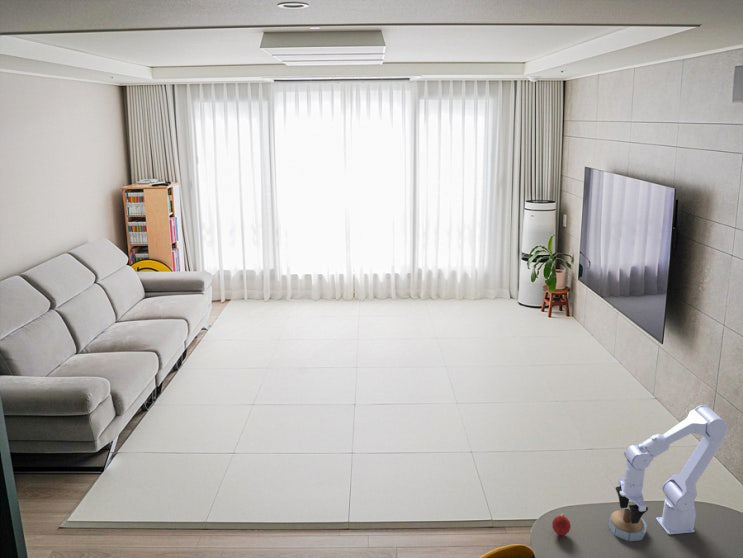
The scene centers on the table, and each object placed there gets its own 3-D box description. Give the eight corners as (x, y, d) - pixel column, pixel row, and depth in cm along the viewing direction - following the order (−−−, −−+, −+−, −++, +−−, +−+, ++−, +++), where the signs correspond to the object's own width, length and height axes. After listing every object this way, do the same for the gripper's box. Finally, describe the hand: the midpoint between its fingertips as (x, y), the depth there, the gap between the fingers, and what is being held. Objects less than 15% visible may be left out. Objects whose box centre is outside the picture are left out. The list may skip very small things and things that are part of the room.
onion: (570, 541, 212) (572, 521, 210) (552, 539, 214) (553, 519, 211) (568, 529, 218) (570, 510, 215) (551, 527, 219) (552, 507, 216)
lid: (633, 510, 222) (635, 500, 220) (648, 531, 212) (650, 520, 211) (605, 513, 221) (607, 502, 219) (619, 533, 212) (620, 522, 210)
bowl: (634, 516, 223) (635, 509, 222) (651, 539, 213) (652, 531, 212) (603, 519, 222) (604, 512, 221) (619, 542, 212) (620, 534, 211)
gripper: (611, 468, 218) (607, 501, 222) (633, 495, 204) (628, 531, 209) (631, 466, 218) (627, 500, 223) (654, 493, 205) (649, 529, 209)
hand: (629, 515), depth 216 cm, fingers open, 7 cm apart
